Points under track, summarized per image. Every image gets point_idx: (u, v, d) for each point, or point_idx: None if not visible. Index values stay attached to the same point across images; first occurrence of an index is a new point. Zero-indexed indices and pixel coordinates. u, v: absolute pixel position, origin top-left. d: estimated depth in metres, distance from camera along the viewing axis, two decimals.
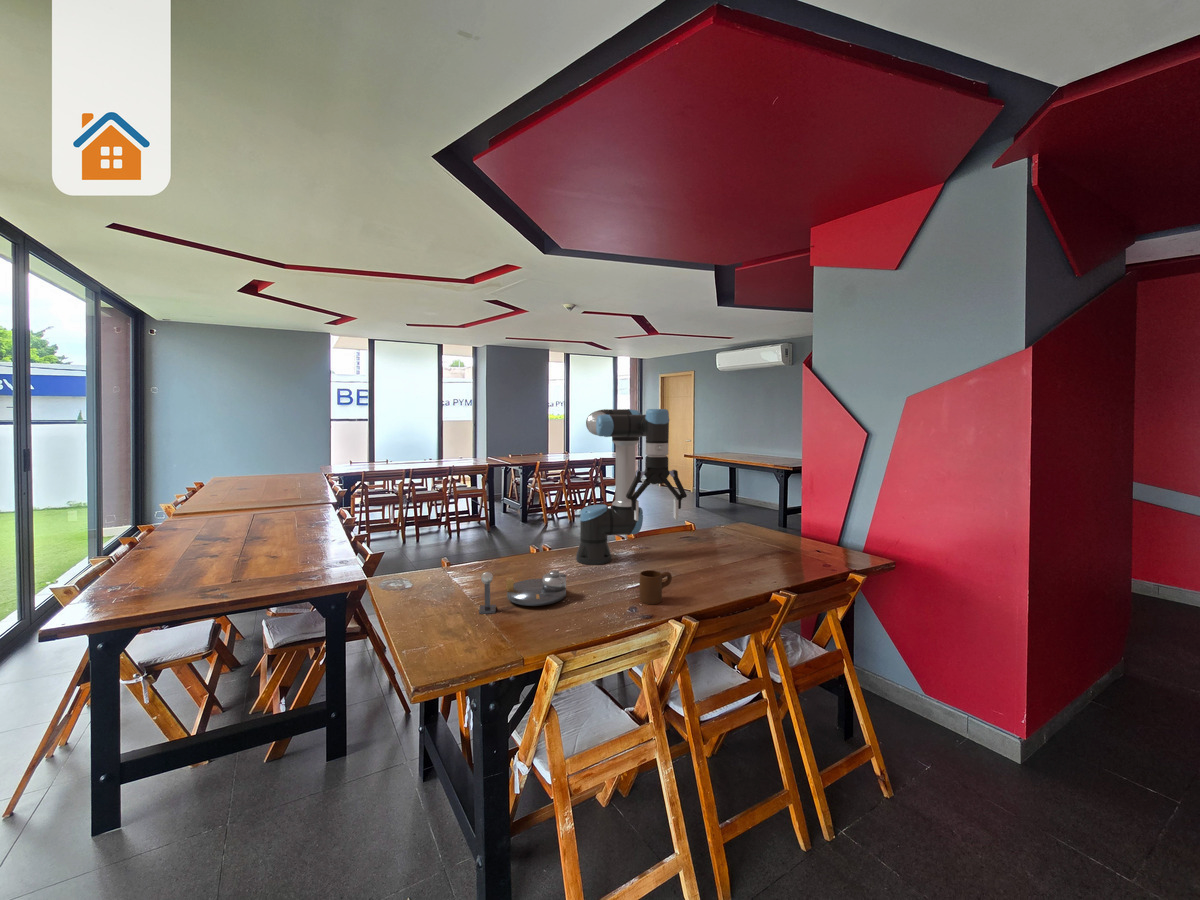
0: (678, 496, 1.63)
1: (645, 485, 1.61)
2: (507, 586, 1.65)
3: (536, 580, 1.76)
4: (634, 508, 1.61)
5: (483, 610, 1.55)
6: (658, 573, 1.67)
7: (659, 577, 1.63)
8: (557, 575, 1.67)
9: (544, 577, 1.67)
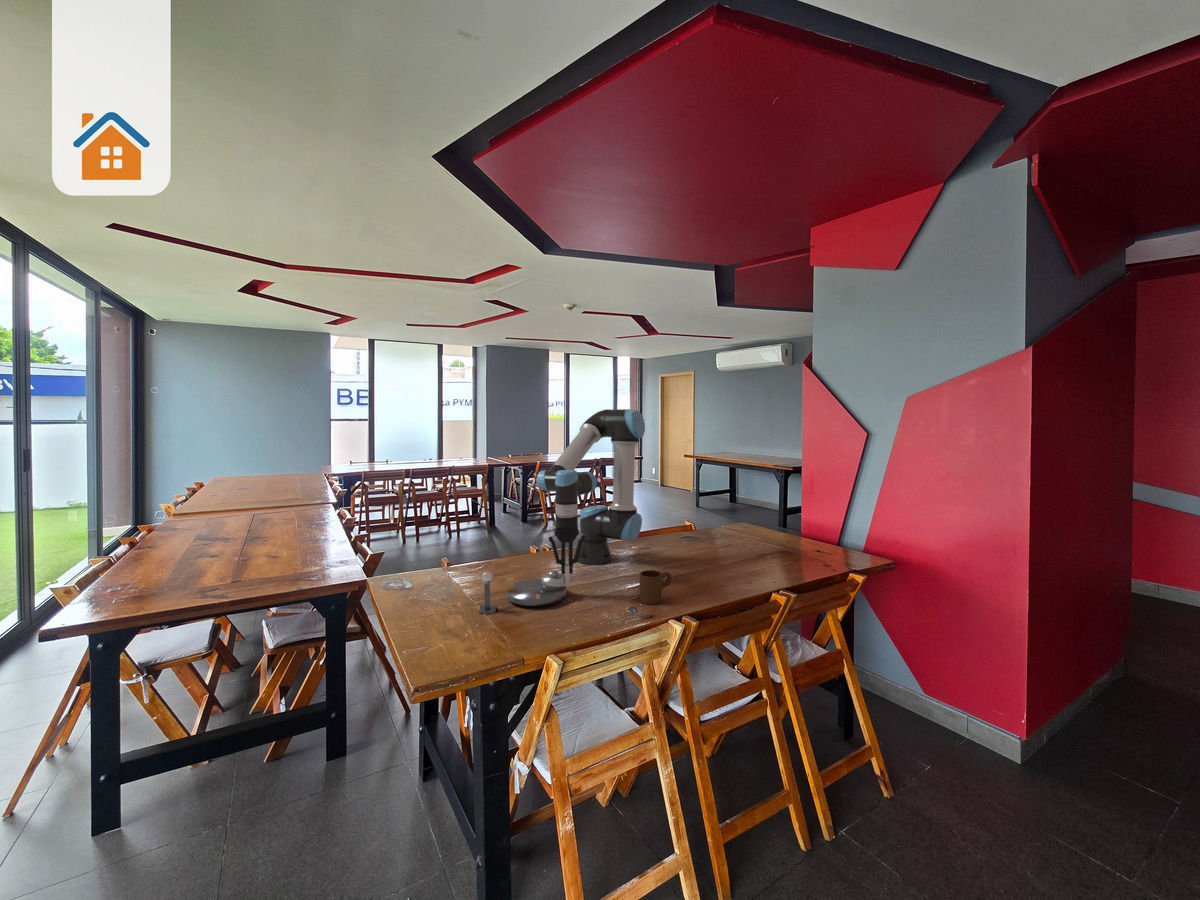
0: (570, 561, 1.68)
1: (563, 547, 1.67)
2: (507, 586, 1.65)
3: (536, 580, 1.76)
4: (563, 572, 1.68)
5: (483, 610, 1.55)
6: (658, 573, 1.67)
7: (659, 577, 1.63)
8: (556, 575, 1.67)
9: (543, 577, 1.67)
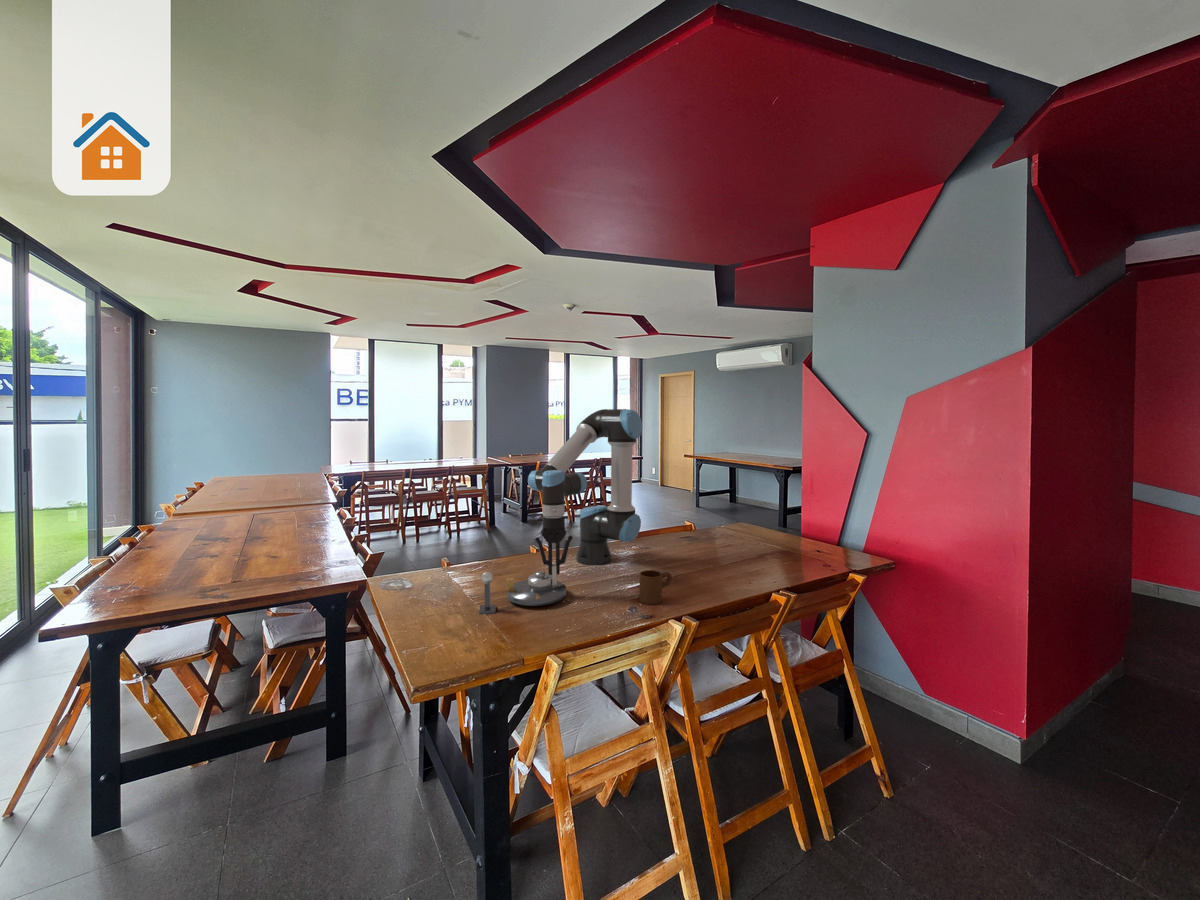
0: (557, 562, 1.67)
1: (550, 548, 1.66)
2: (507, 586, 1.65)
3: None
4: (550, 573, 1.67)
5: (483, 610, 1.55)
6: (658, 573, 1.67)
7: (659, 577, 1.63)
8: (543, 576, 1.67)
9: (530, 577, 1.67)
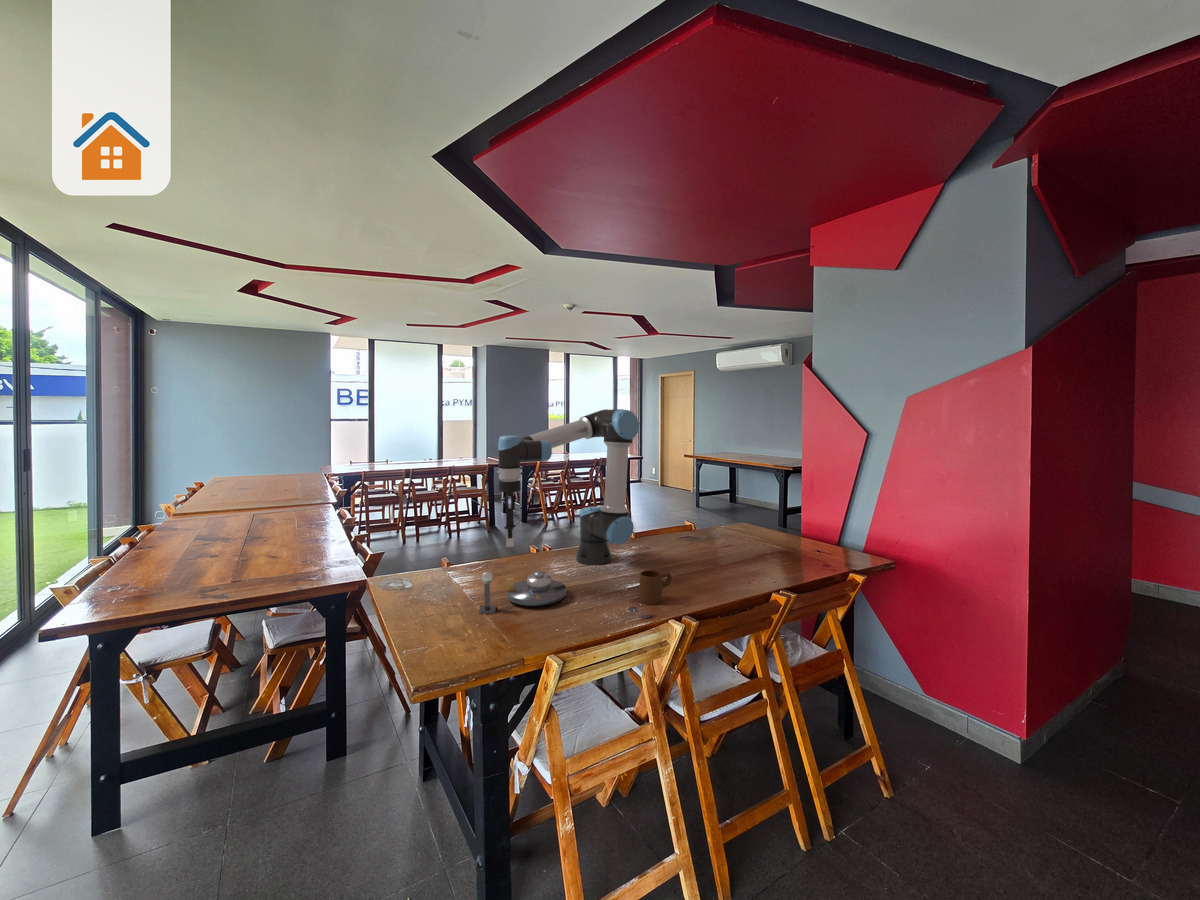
0: None
1: None
2: (507, 586, 1.65)
3: None
4: None
5: (483, 610, 1.55)
6: (658, 573, 1.67)
7: (659, 577, 1.63)
8: (542, 576, 1.67)
9: (529, 577, 1.67)
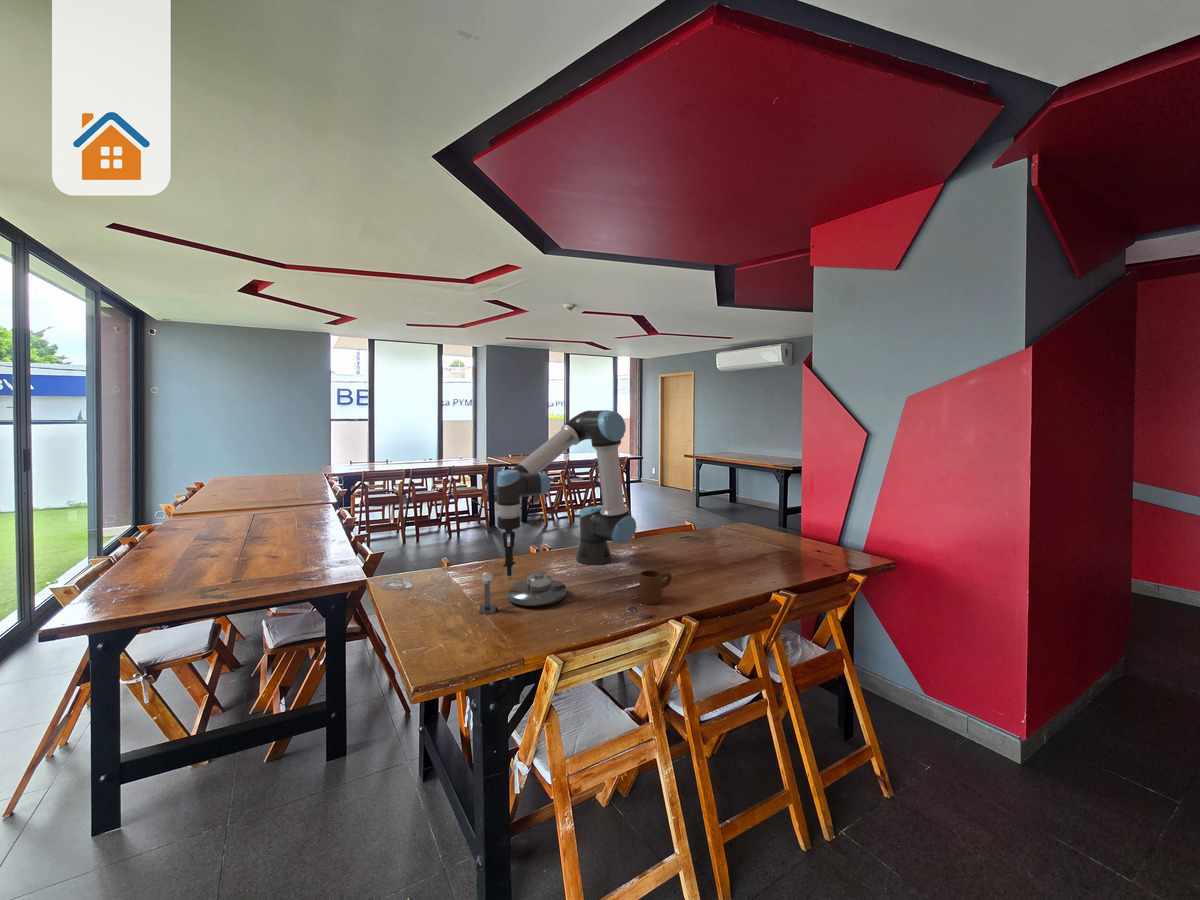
0: None
1: None
2: (507, 586, 1.65)
3: None
4: None
5: (483, 610, 1.55)
6: (658, 573, 1.67)
7: (659, 577, 1.63)
8: (542, 576, 1.67)
9: (529, 578, 1.67)
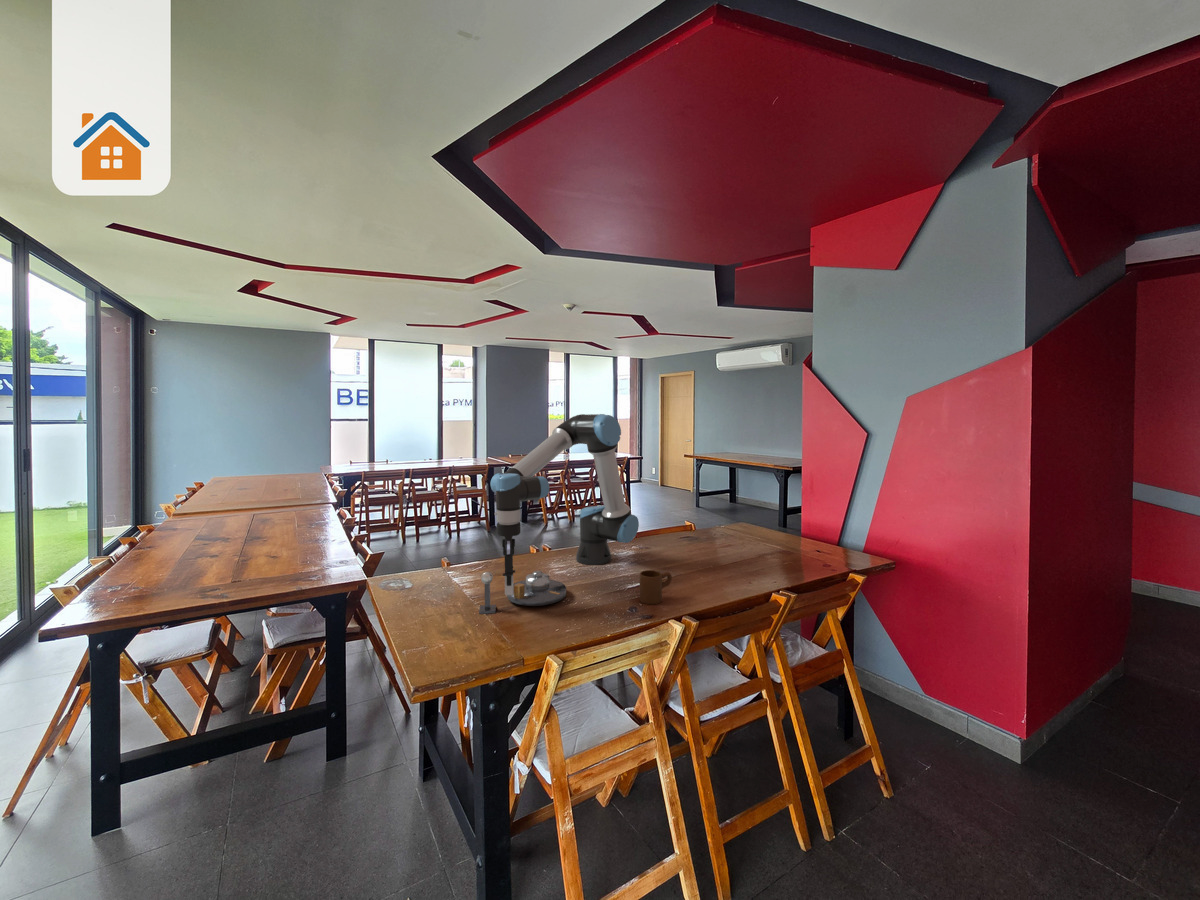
0: None
1: None
2: (520, 593, 1.59)
3: (518, 584, 1.72)
4: None
5: (483, 610, 1.55)
6: (658, 573, 1.67)
7: (659, 577, 1.63)
8: (542, 574, 1.68)
9: (532, 579, 1.65)
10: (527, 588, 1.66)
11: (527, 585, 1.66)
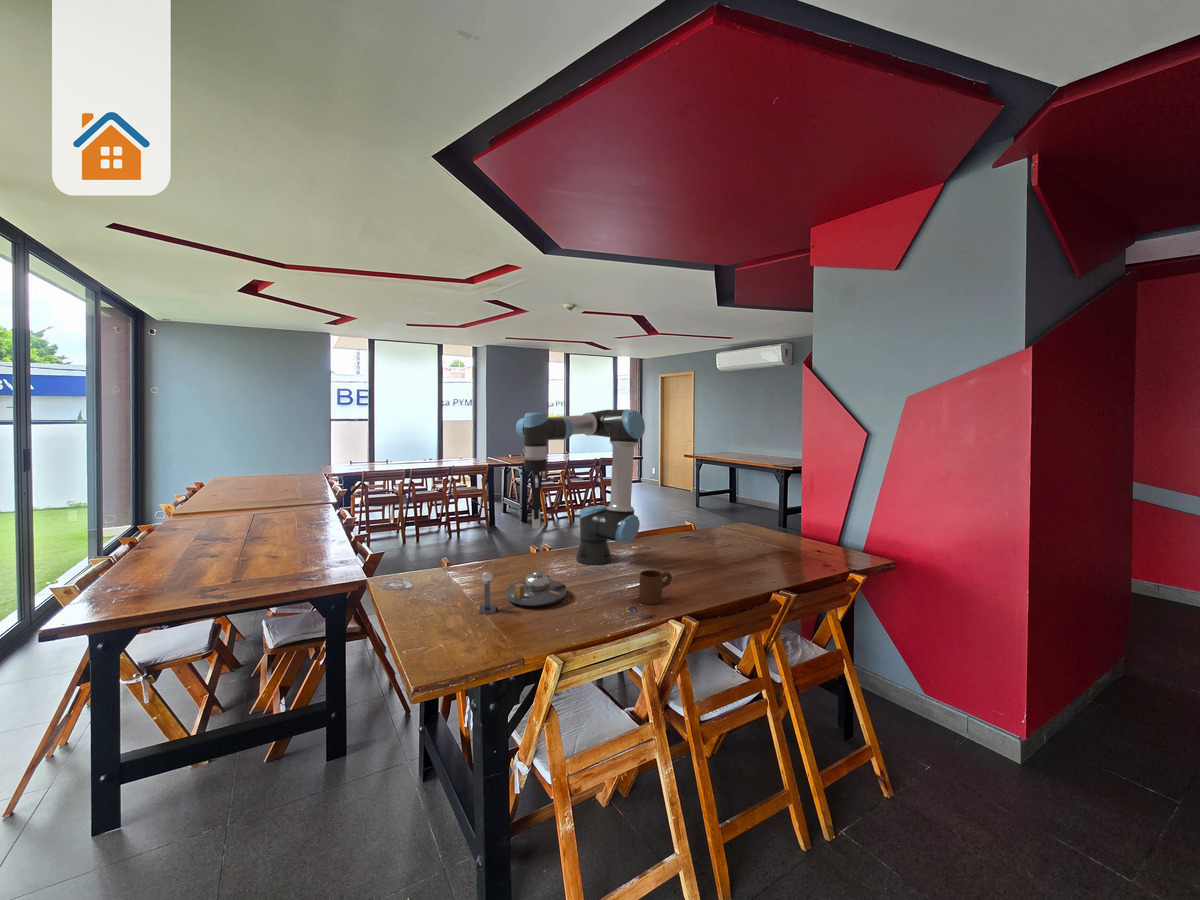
0: None
1: None
2: (520, 593, 1.59)
3: (518, 584, 1.72)
4: None
5: (483, 610, 1.55)
6: (658, 573, 1.67)
7: (659, 577, 1.63)
8: (542, 574, 1.68)
9: (532, 579, 1.65)
10: (527, 588, 1.66)
11: (527, 585, 1.66)
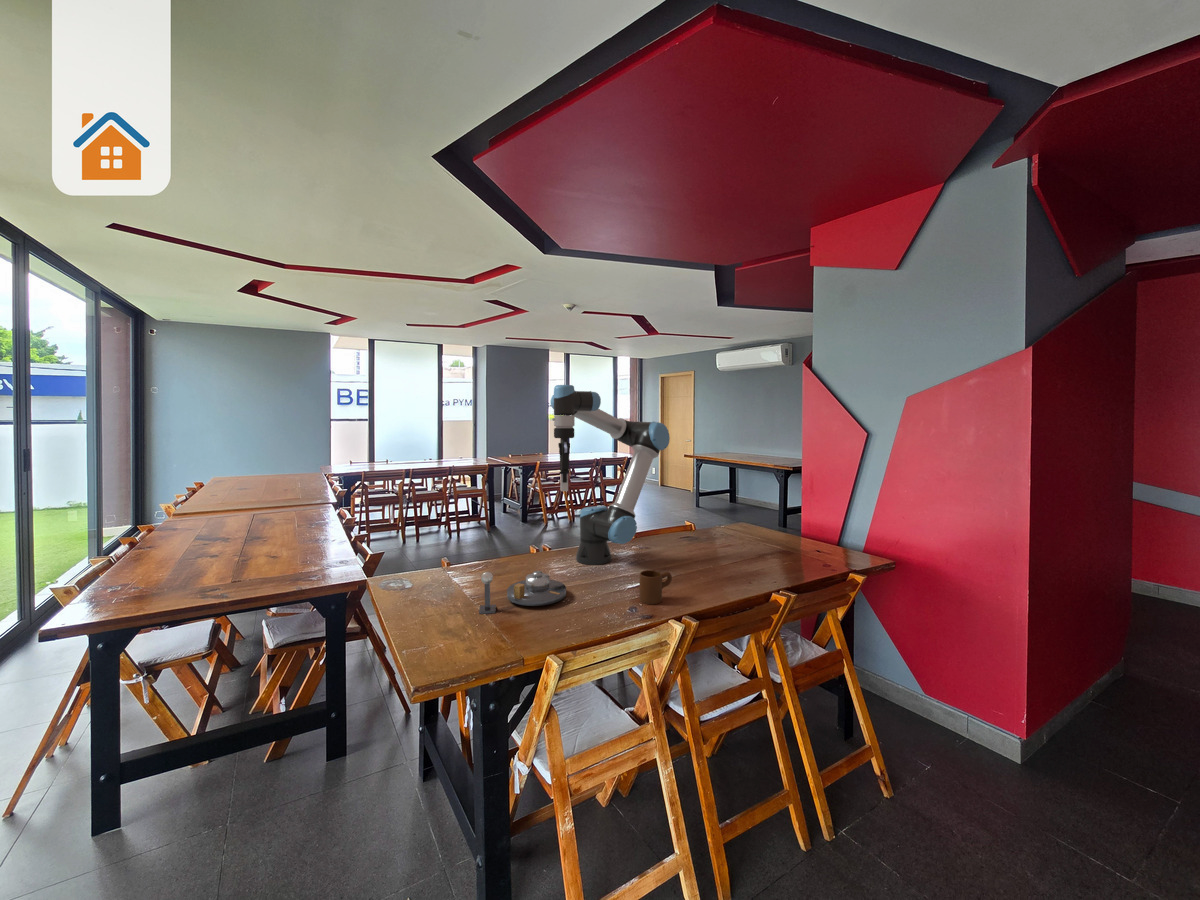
0: (561, 470, 1.80)
1: None
2: (520, 593, 1.59)
3: (518, 584, 1.72)
4: None
5: (483, 610, 1.55)
6: (658, 573, 1.67)
7: (659, 577, 1.63)
8: (542, 574, 1.68)
9: (532, 579, 1.65)
10: (527, 588, 1.66)
11: (527, 585, 1.66)
